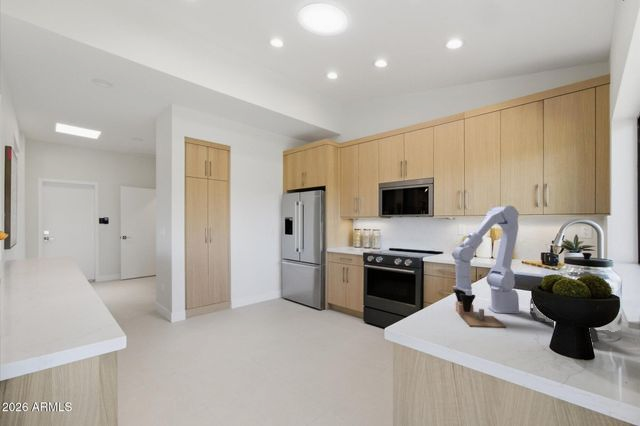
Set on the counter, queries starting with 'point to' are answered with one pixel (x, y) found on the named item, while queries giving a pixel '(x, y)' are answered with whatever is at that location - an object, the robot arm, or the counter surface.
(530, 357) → the counter surface
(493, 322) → the peg stand
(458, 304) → the ring
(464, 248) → the robot arm
